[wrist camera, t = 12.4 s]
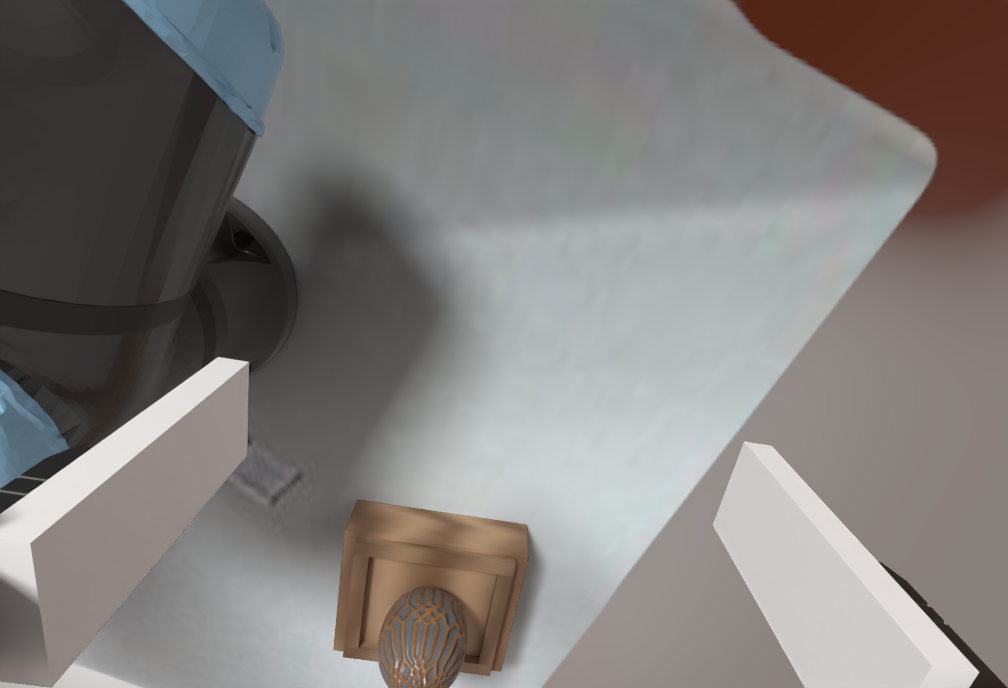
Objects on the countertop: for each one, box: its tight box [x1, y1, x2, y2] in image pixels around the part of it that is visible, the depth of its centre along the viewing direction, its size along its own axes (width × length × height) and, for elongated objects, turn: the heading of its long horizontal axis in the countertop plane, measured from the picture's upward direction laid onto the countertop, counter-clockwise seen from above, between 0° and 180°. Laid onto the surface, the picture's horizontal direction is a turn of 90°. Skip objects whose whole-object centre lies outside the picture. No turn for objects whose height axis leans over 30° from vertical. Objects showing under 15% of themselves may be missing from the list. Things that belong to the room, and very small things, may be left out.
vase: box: [378, 586, 467, 688], centre depth 41 cm, size 7×7×9 cm
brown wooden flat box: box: [333, 500, 529, 676], centre depth 47 cm, size 15×13×5 cm
